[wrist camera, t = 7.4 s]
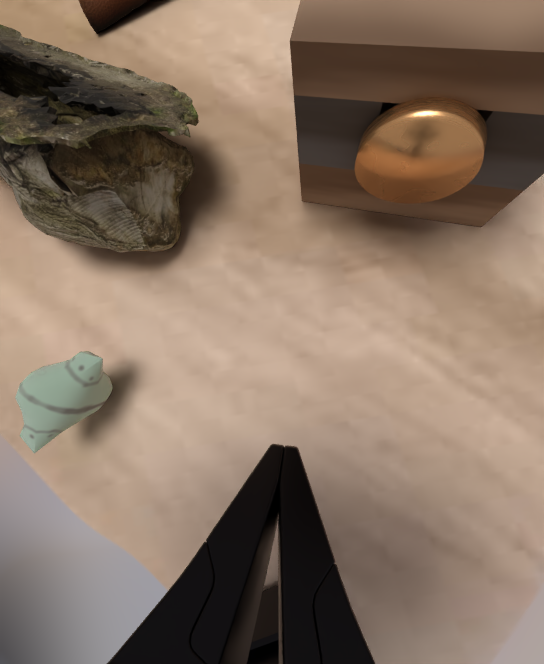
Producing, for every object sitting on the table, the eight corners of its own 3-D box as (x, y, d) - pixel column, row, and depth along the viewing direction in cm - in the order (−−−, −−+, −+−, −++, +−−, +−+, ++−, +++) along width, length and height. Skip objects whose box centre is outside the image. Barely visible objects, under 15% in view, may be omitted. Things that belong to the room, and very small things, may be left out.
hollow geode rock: (36, 158, 35) (-158, 164, 24) (-1, 8, 27) (-322, -85, 16) (212, 265, 29) (57, 338, 18) (236, 113, 21) (-27, 79, 10)
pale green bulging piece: (93, 442, 24) (8, 470, 17) (61, 412, 25) (-31, 428, 18) (148, 365, 24) (85, 363, 18) (115, 338, 25) (43, 326, 18)
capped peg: (447, 209, 19) (515, 128, 12) (348, 196, 20) (364, 114, 13) (479, 46, 20) (557, -106, 13) (384, 41, 21) (414, -101, 14)
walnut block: (481, 226, 22) (678, 58, 10) (301, 200, 24) (289, 40, 12) (506, 87, 23) (711, -213, 11) (332, 75, 25) (348, -181, 13)
